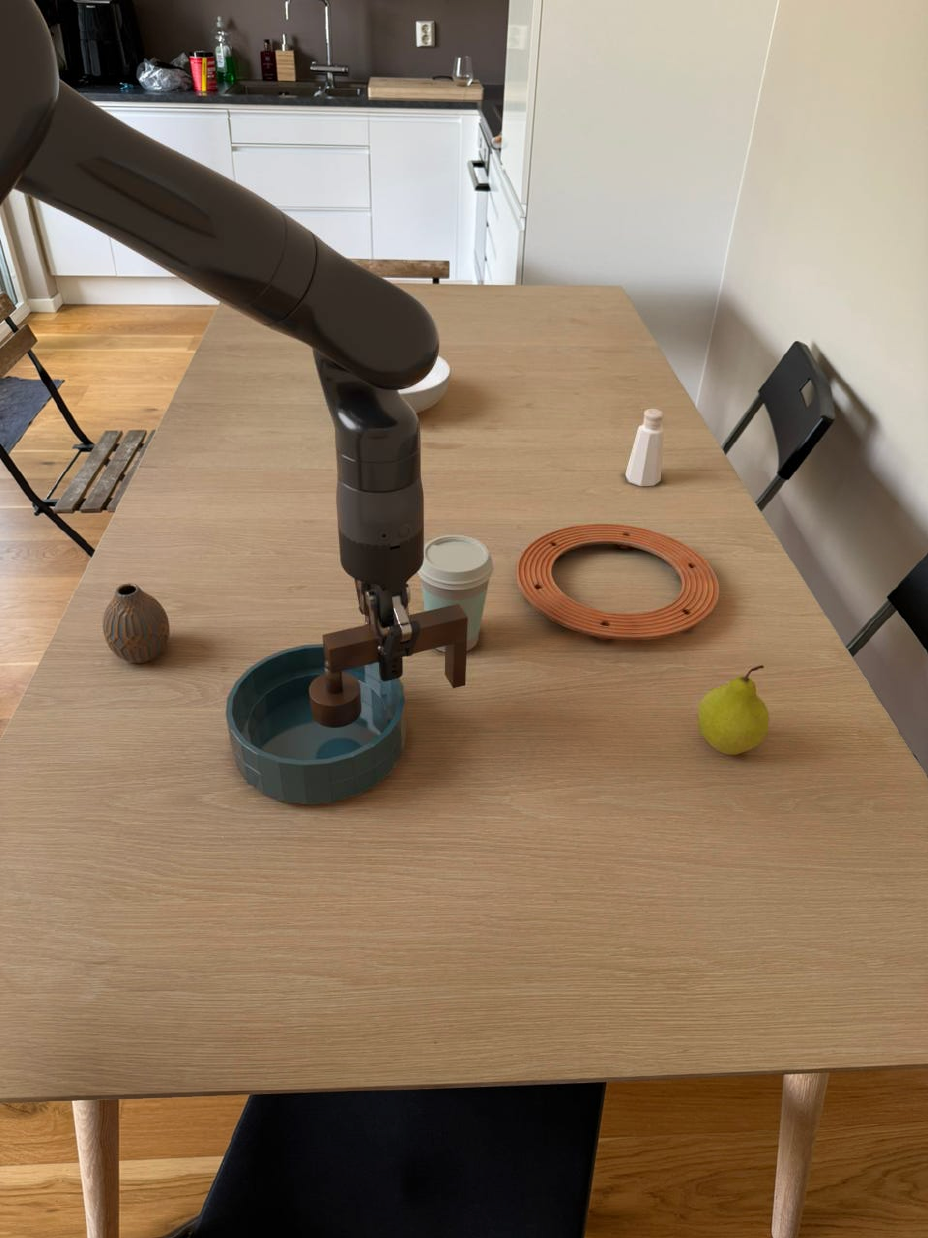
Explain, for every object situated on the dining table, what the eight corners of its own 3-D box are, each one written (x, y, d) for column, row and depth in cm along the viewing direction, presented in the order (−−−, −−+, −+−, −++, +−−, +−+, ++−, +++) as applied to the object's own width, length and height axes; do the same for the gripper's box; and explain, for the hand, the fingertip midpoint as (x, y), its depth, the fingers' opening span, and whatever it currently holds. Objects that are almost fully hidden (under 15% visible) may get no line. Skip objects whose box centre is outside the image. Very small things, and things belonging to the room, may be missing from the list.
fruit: (681, 724, 94) (703, 636, 87) (740, 716, 95) (766, 628, 88) (709, 772, 89) (735, 682, 82) (771, 762, 90) (802, 673, 83)
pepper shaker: (639, 490, 134) (650, 422, 127) (618, 474, 138) (628, 407, 131) (667, 482, 136) (680, 415, 129) (646, 467, 140) (657, 401, 133)
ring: (485, 554, 119) (485, 539, 117) (649, 523, 126) (652, 508, 125) (569, 672, 100) (571, 655, 99) (756, 627, 108) (761, 611, 106)
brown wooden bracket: (318, 733, 86) (311, 663, 81) (305, 700, 90) (297, 631, 84) (470, 693, 91) (473, 624, 86) (452, 663, 95) (453, 596, 90)
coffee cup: (503, 633, 106) (509, 548, 98) (462, 671, 100) (465, 584, 93) (444, 607, 109) (445, 523, 102) (402, 643, 104) (400, 557, 96)
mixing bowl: (254, 830, 82) (246, 785, 78) (219, 708, 94) (211, 665, 90) (429, 779, 87) (429, 735, 83) (374, 671, 100) (373, 629, 96)
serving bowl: (357, 440, 144) (355, 400, 140) (313, 392, 159) (310, 354, 154) (470, 418, 152) (472, 379, 148) (418, 373, 167) (418, 337, 162)
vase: (112, 637, 103) (95, 574, 98) (174, 629, 104) (161, 568, 99) (108, 675, 98) (90, 612, 92) (173, 667, 99) (159, 604, 94)
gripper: (317, 488, 81) (330, 635, 92) (363, 569, 71) (371, 724, 82) (395, 474, 84) (398, 619, 94) (450, 551, 74) (447, 703, 84)
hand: (386, 667), depth 88 cm, fingers closed on brown wooden bracket, 2 cm apart
